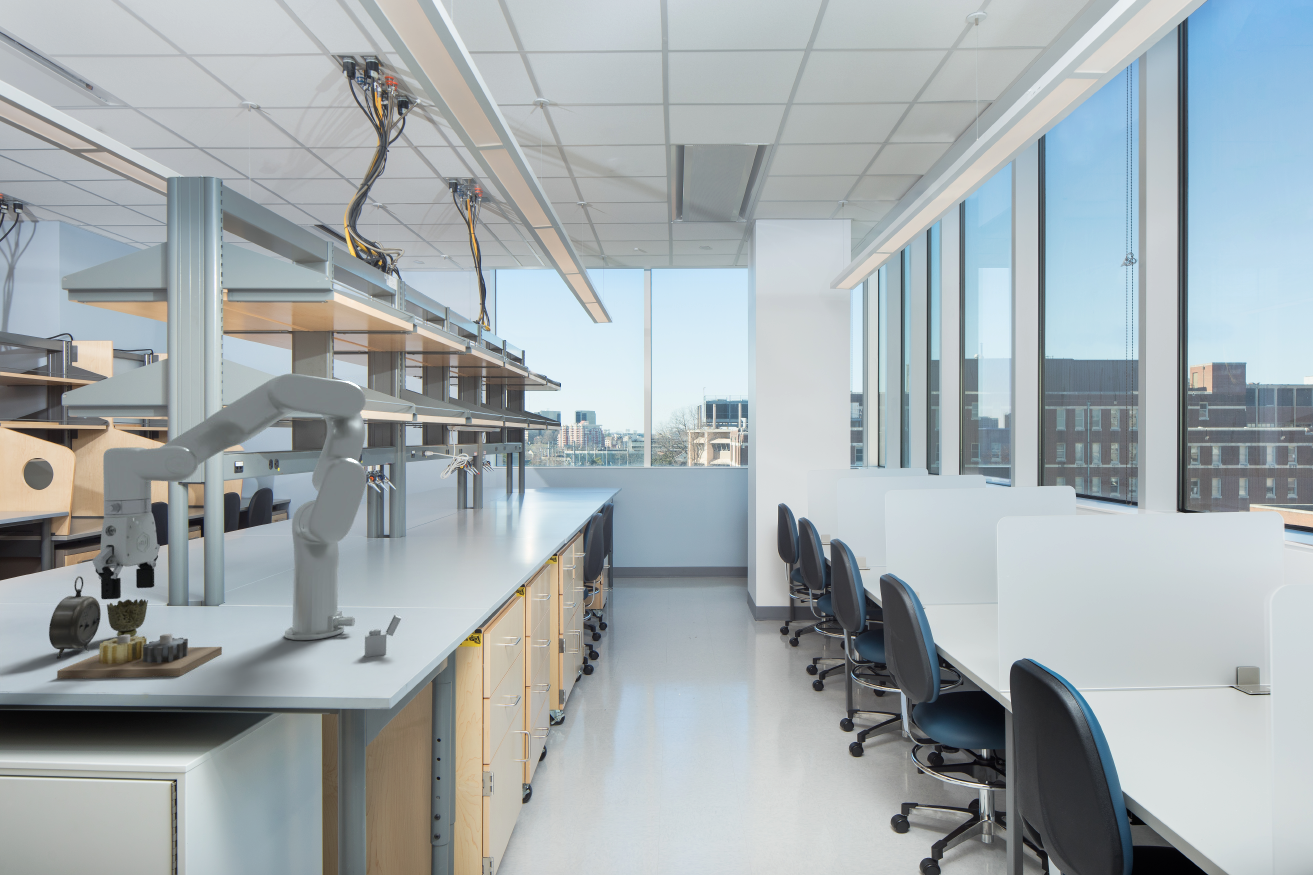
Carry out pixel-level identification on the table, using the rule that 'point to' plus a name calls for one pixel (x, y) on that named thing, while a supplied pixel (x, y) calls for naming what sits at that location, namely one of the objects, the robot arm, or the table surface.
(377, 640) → the lighter
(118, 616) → the cup
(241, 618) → the table surface
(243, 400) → the robot arm
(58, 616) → the alarm clock
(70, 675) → the gear board
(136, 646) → the brass gear
